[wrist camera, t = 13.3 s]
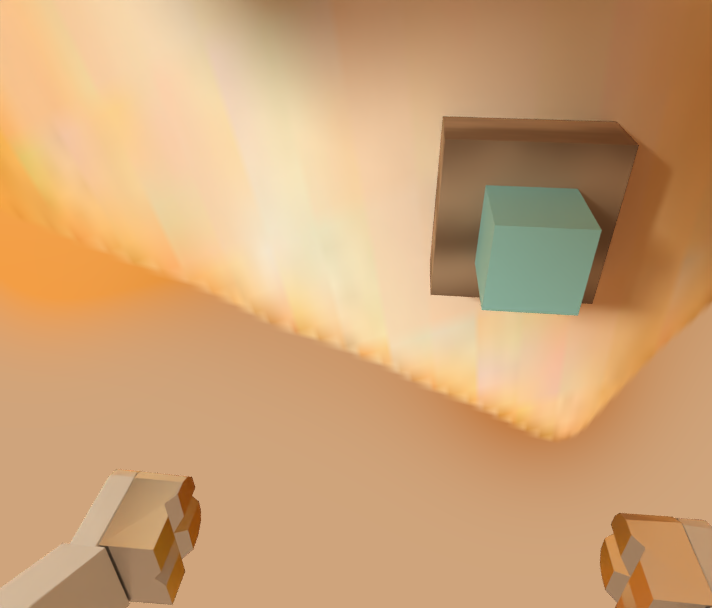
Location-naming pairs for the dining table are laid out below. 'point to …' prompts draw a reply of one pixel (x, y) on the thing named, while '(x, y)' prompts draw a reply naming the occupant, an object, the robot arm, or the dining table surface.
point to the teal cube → (534, 249)
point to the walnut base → (521, 183)
